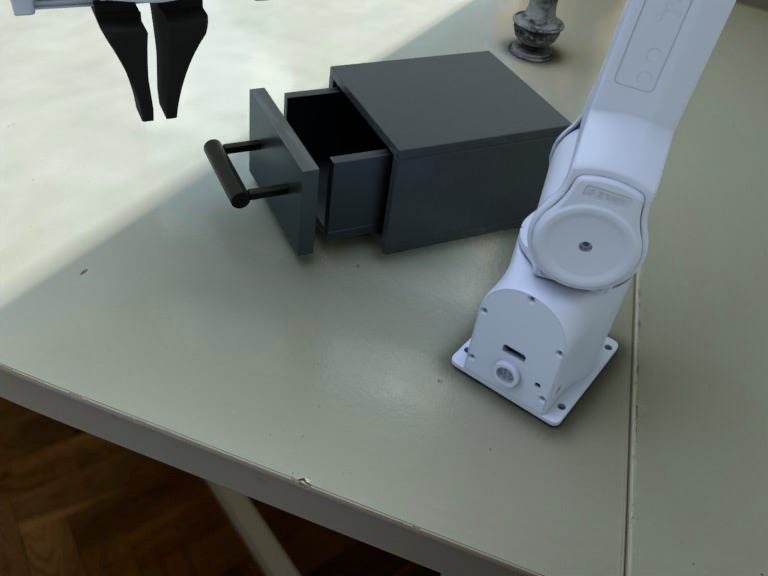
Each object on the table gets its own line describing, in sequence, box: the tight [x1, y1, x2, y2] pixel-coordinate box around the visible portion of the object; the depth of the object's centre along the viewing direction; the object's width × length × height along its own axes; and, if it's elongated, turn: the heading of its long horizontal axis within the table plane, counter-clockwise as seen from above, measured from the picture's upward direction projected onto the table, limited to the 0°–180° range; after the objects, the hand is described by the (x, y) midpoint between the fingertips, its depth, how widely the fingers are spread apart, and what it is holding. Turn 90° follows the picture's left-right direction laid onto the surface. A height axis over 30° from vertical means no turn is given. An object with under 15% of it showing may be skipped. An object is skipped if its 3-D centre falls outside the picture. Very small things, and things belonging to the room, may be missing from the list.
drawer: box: [203, 87, 394, 257], centre depth 59 cm, size 18×11×7 cm, turn 115°
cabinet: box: [328, 50, 573, 255], centre depth 63 cm, size 15×13×9 cm
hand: (156, 112), depth 51 cm, fingers closed
